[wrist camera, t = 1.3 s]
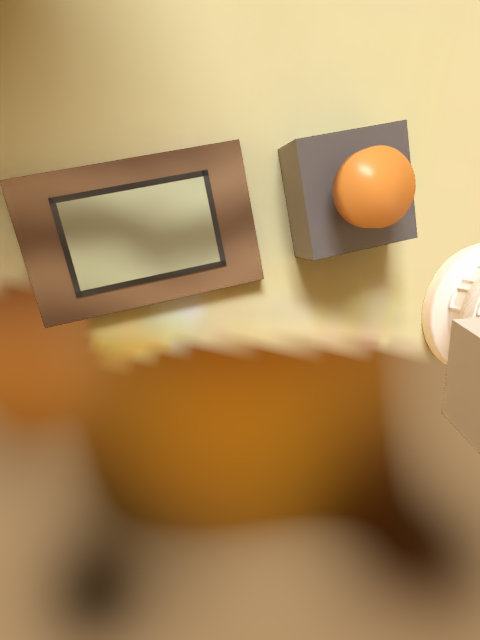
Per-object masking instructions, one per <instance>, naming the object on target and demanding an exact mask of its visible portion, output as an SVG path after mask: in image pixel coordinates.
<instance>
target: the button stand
mask: <svg viewBox="0 0 480 640" xmlns="http://www.w3.org/2000/svg"><path fill="white" fill-rule="evenodd" d="M378 145H385V146H390V147H392V148H395V149H397V150H398V151H400V152H401V153H402V154H403V155H404V156H405V157H406V158H407V159H408V161H409V162H410V152H409V141H408V130H407V120H402V121H397V122H391V123H385V124H380V125H374V126H368V127H362V128H357V129H351V130H345V131H340V132H334V133H328V134H322V135H317V136H311V137H305V138H300V139H295V140H293V141H292V142H290V143H288V144H286V145H285V146H283V147H281V148H280V149H278V153H279V159H280V166H281V172H282V178H283V184H284V191H285V197H286V203H287V209H288V216H289V222H290V228H291V234H292V241H293V247H294V253H295V257H299V258H304V259H309V260H318V259H322V258H327V257H331V256H336V255H340V254H345V253H349V252H354V251H358V250H363V249H367V248H372V247H376V246H381V245H385V244H390V243H394V242H399V241H403V240H408V239H412V238H417V228H416V217H415V206H414V198H413V201H412V203H411V206H410V207H409V209H408V211H407V212H406V213H405V215H404V216H403V217H402V218H401V219H400V220H398V221H397V222H396V223H394V224H392V225H390V226H387V227H384V228H360V227H356V226H354V225H351V224H350V223H348V222H347V221H346V220H344V219H343V218H342V216H341V215H340V214H339V212H338V211H337V209H336V206H335V203H334V200H333V192H332V191H333V181H334V178H335V175H336V172H337V170H338V168H339V167H340V165H341V164H342V163H343V161H344V160H345V159H346V158H348V157H349V156H350V155H352V154H353V153H355V152H358V151H360V150H363V149H366V148H369V147H372V146H378ZM410 164H411V163H410Z"/></svg>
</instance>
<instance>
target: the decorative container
mask: <svg viewBox="0 0 480 640" xmlns="http://www.w3.org/2000/svg"><path fill="white" fill-rule="evenodd" d="M476 317H480V243H477V244H474V245H472V246H469V247H466V248H464V249H461V250H460V251H458V252H457V253H456V254H454V255H453V256H452V257H450V258H449V259H447V260H446V261H445V263H444V264H443V265H442V266H441V267H440V269H439V270H438V271H437V272H436V273H435V275H434V277H433V279H432V281H431V283H430V284H429V286H428V288H427V291H426V294H425V298H424V302H423V306H422V328H423V332H424V336H425V340H426V342H427V344H428V346H429V348H430V350H431V351H432V353H433V354H434V355H435V356H436V357H437V358H438V359H439V360H440V361H441V362H442V363H443V364H445V365H447V361H448V352H449V343H450V335H451V326H452V320H454V319H465V318H476Z"/></svg>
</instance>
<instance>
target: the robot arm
mask: <svg viewBox="0 0 480 640" xmlns="http://www.w3.org/2000/svg"><path fill="white" fill-rule="evenodd" d="M442 414H443V415H444V416H445V417H446V418H447V419H448V420H449V421H450V422H451V423H452V424H453V425H454V427H455V428H457V430H458V431H459V432H460V433H461V434H462V435H463V436H464V437H465V438H466V439H467V440H468V442H469V443H470V444H471V445H472V446H473V447H474V448H475V449H476V450H477V451H478V452H479V453H480V317H476V318H465V319H454V320H452V326H451V335H450V343H449V352H448V361H447V370H446V378H445V387H444V397H443V405H442Z"/></svg>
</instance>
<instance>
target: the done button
mask: <svg viewBox="0 0 480 640" xmlns="http://www.w3.org/2000/svg"><path fill="white" fill-rule="evenodd" d="M332 192H333V200H334V203H335V206H336V209H337V211H338V212H339V214H340V215H341V216H342V218H343V219H344V220H346V221H347V222H348V223H350V224H351V225H354V226H356V227H360V228H384V227H387V226H390V225H392V224H394V223H396V222H397V221H398V220H400V219H401V218H402V217H403V216H404V215H405V213H406V212H407V211H408V209H409V207H410V206H411V203H412V201H413V198H414V194H415V175H414V171H413V169H412V166H411V164H410V162H409V161H408V159H407V158H406V157H405V156H404V155H403V154H402V153H401V152H400V151H398V150H397V149H395V148H392V147H390V146H385V145H378V146H372V147H369V148H366V149H363V150H360V151H358V152H355V153H353V154H352V155H350V156H349V157H348V158H346V159H345V160H344V161H343V163H342V164H341V165H340V167H339V168H338V170H337V172H336V175H335V178H334V181H333V191H332Z"/></svg>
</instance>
